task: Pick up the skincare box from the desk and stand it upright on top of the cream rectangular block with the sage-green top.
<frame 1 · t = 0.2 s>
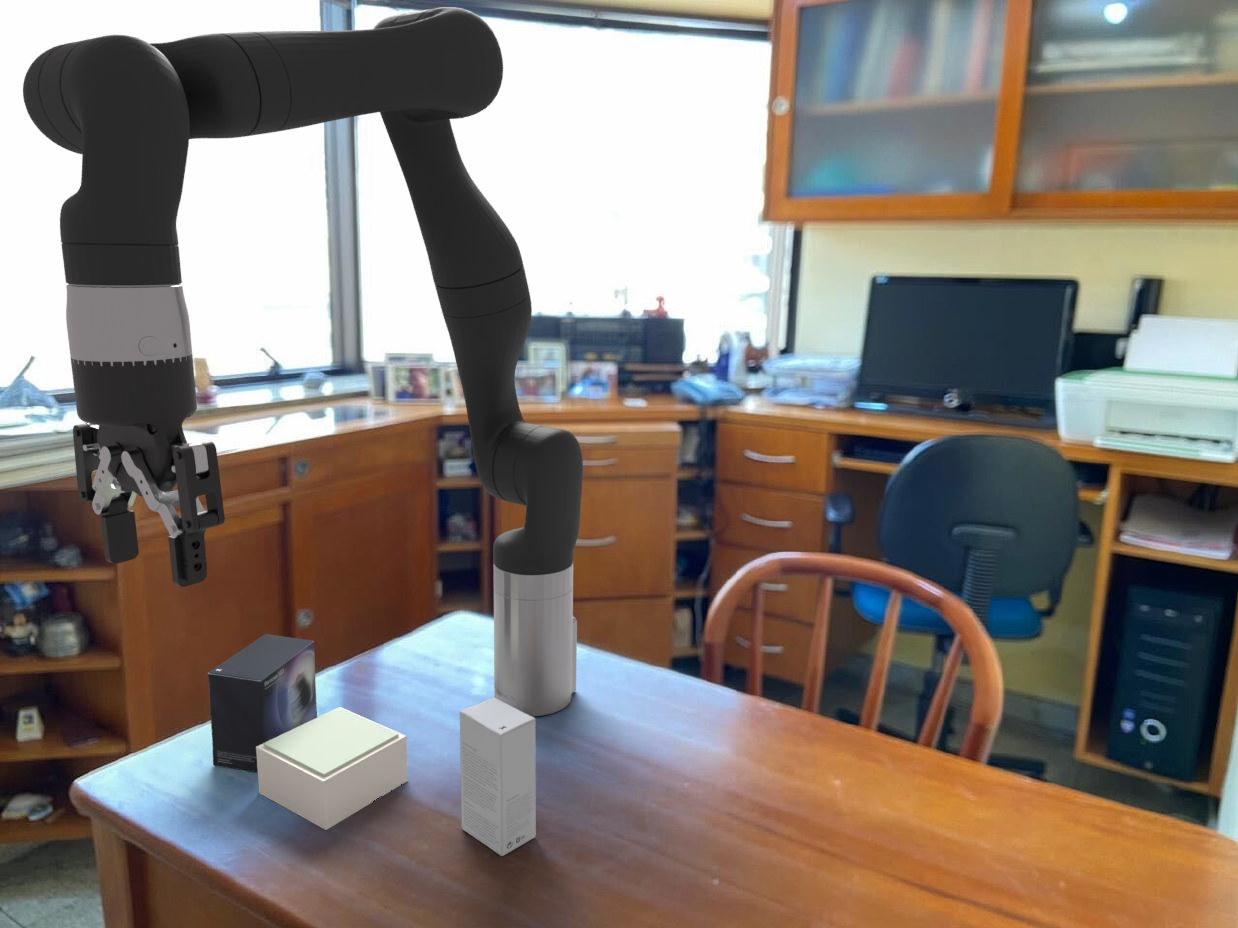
hand: (155, 571, 67), 29 cm above the table, tool pointing down, fingers open, 8 cm apart
cream rectangular block: (334, 786, 91), on the table
small box: (268, 747, 98), on the table
skincare box: (498, 834, 85), on the table
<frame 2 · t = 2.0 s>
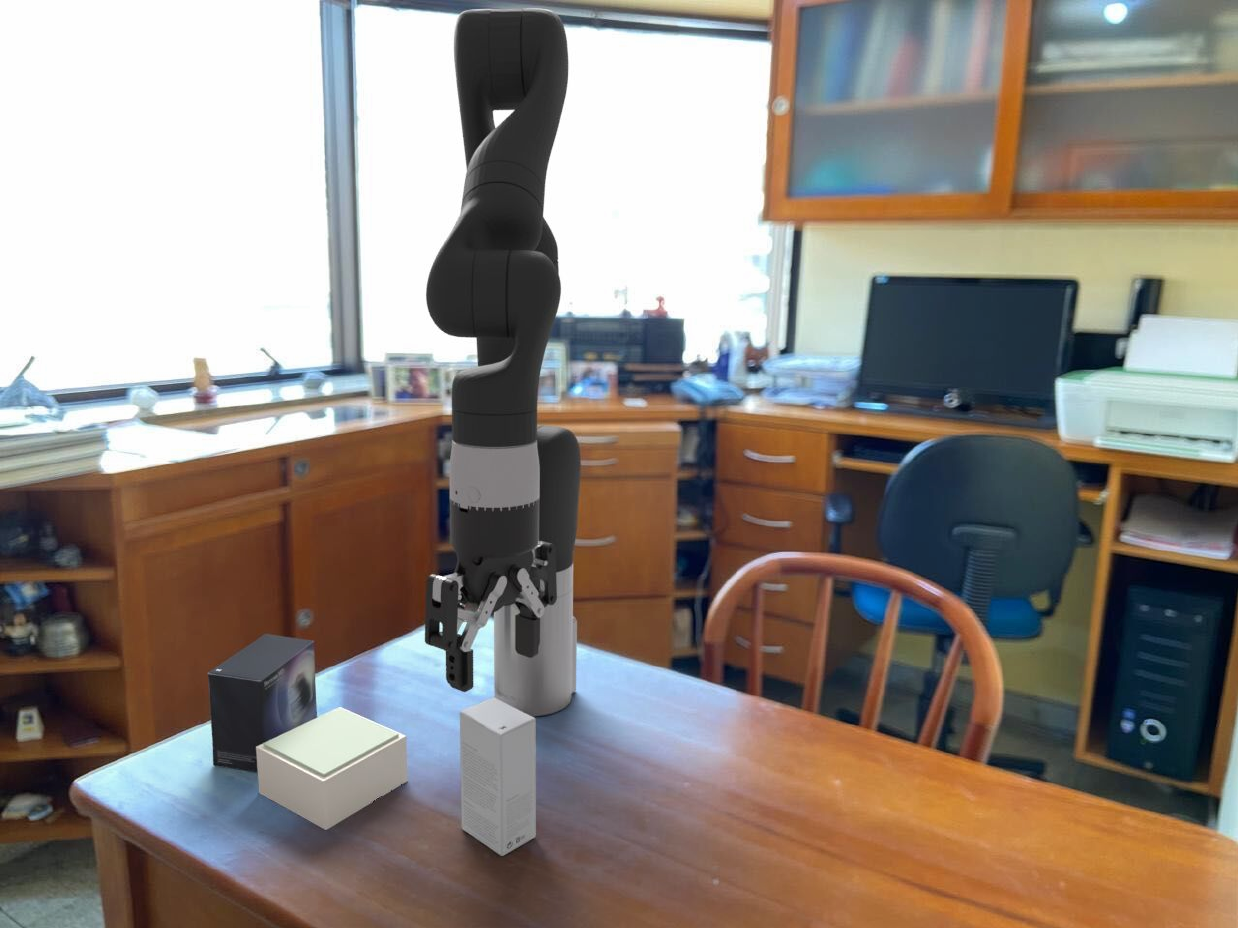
hand: (495, 670, 81), 16 cm above the table, tool pointing down, fingers open, 8 cm apart
nothing on the table moved.
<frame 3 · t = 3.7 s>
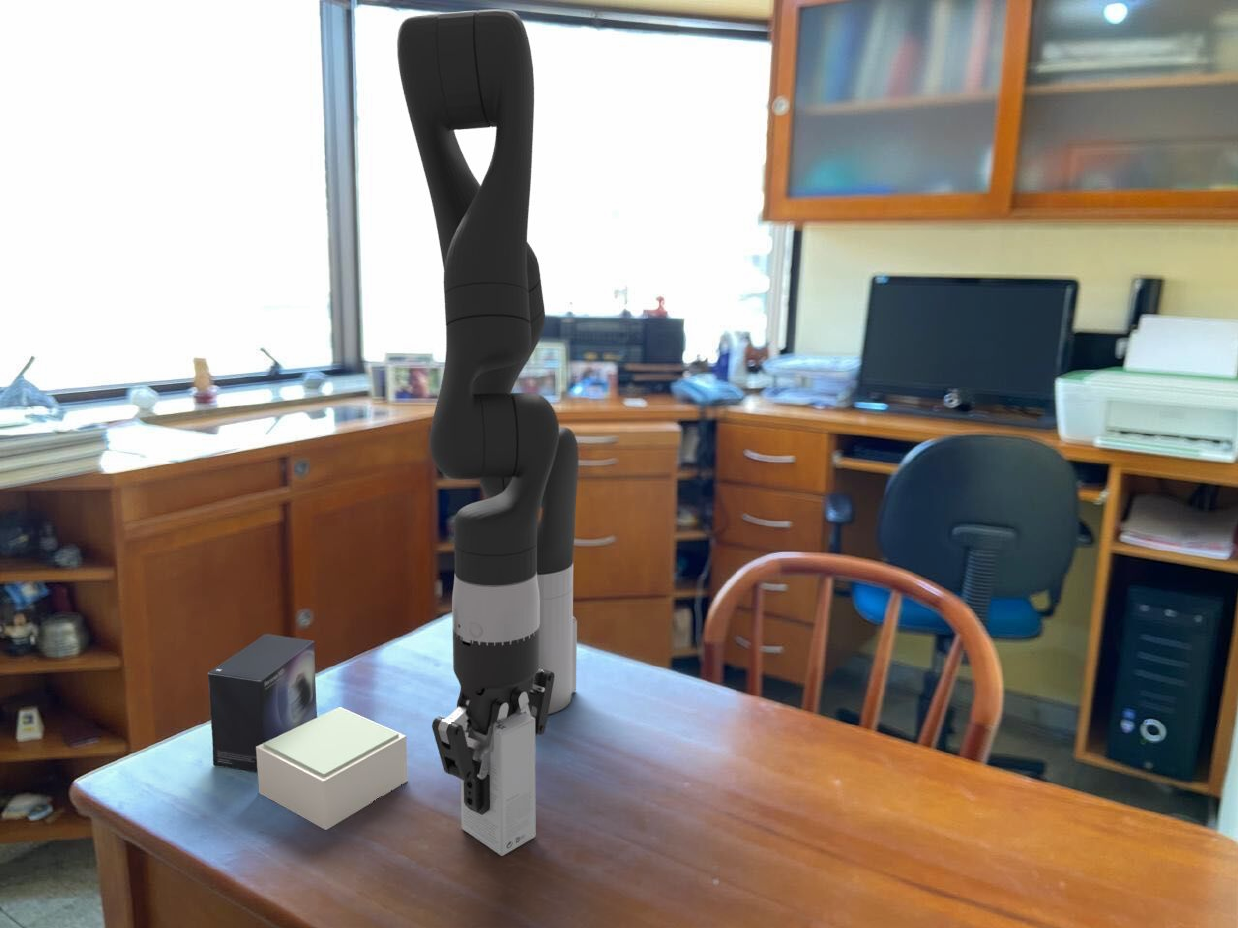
hand: (497, 795, 84), 4 cm above the table, tool pointing down, fingers closed on skincare box, 4 cm apart
skincare box: (498, 834, 85), on the table, touching gripper
everything else where it was.
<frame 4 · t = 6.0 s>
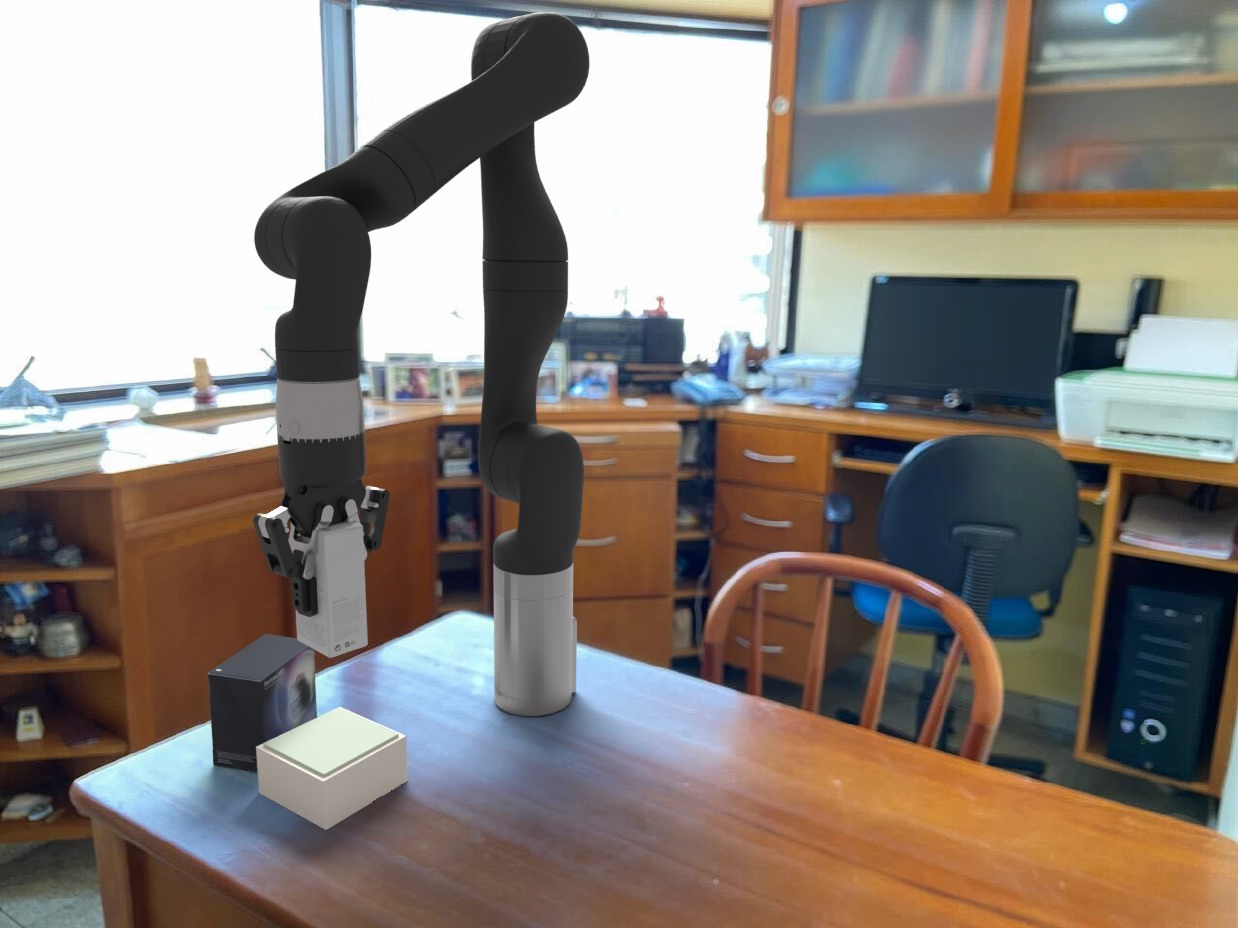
hand: (329, 604, 86), 19 cm above the table, tool pointing down, fingers closed on skincare box, 4 cm apart
skincare box: (332, 645, 87), point 15 cm above the table, touching gripper
everything else where it was.
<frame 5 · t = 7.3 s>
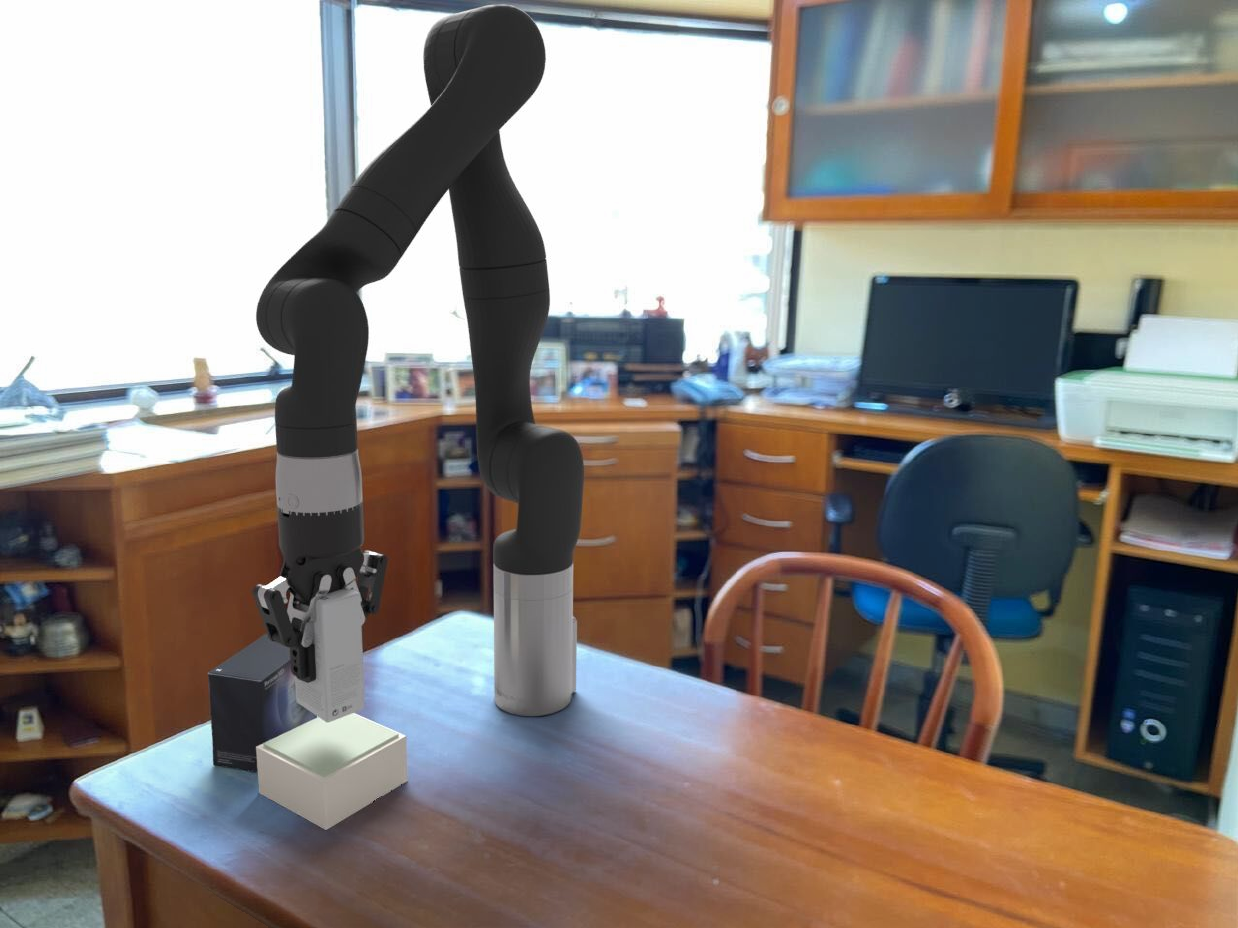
hand: (328, 669, 88), 13 cm above the table, tool pointing down, fingers closed on skincare box, 4 cm apart
skincare box: (330, 707, 89), point 9 cm above the table, touching gripper
everything else where it was.
when the fingers open (10 cm above the table, at t = 8.2 s): skincare box drops 1 cm, resting on cream rectangular block.
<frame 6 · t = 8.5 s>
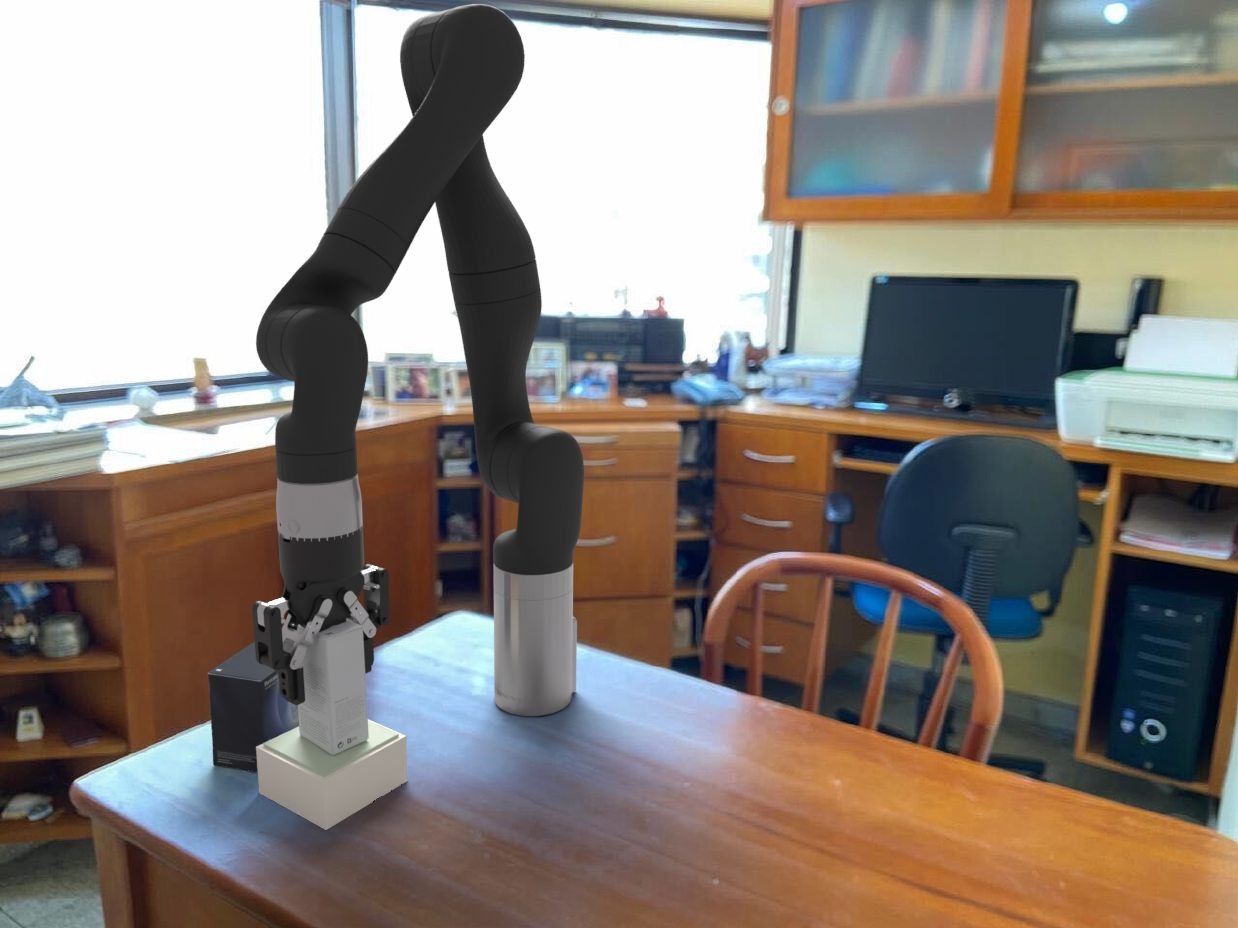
hand: (329, 685, 89), 11 cm above the table, tool pointing down, fingers open, 7 cm apart
skincare box: (334, 739, 90), point 5 cm above the table, touching cream rectangular block
everything else where it was.
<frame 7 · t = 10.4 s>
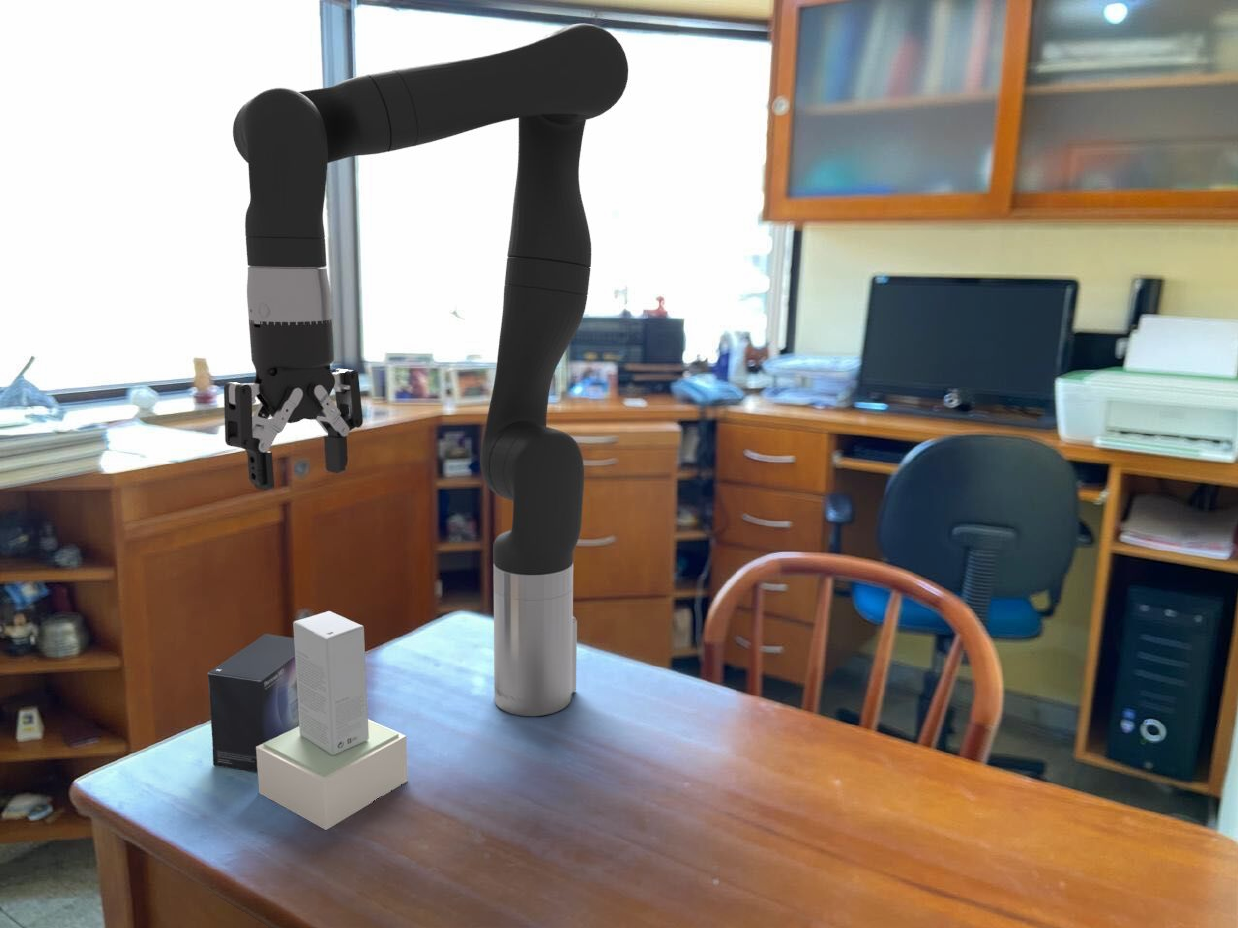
hand: (301, 480, 91), 30 cm above the table, tool pointing down, fingers open, 8 cm apart
nothing on the table moved.
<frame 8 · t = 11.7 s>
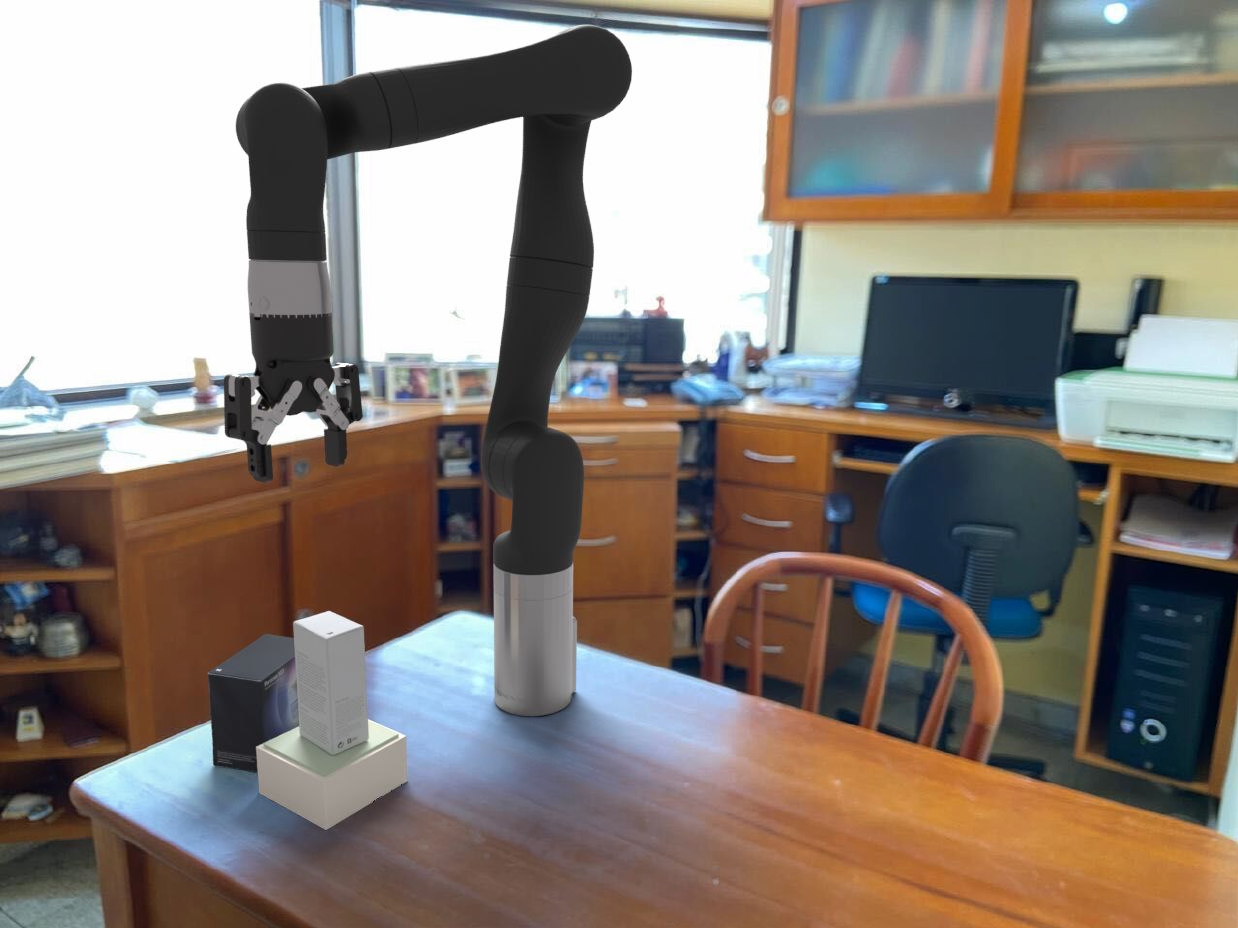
hand: (300, 472, 92), 30 cm above the table, tool pointing down, fingers open, 8 cm apart
nothing on the table moved.
at the end: skincare box 0.2 cm from the cream rectangular block (horizontally); skincare box touching cream rectangular block; skincare box tilted 0° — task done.
